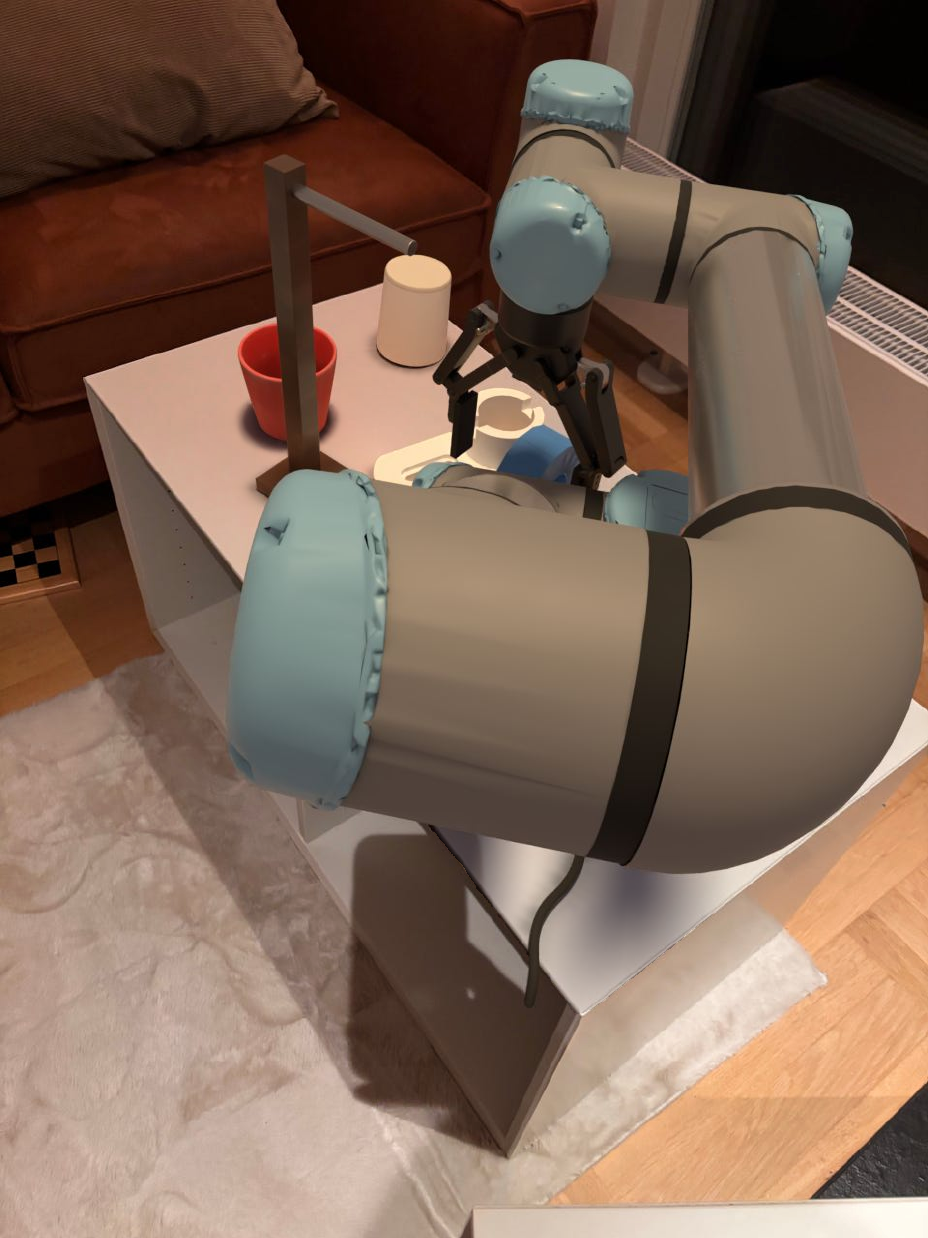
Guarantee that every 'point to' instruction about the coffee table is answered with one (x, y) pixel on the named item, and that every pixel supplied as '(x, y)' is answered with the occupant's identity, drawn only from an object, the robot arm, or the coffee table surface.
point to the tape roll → (541, 456)
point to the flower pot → (265, 376)
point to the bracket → (494, 435)
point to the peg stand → (303, 307)
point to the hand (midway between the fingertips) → (515, 482)
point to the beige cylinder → (414, 310)
